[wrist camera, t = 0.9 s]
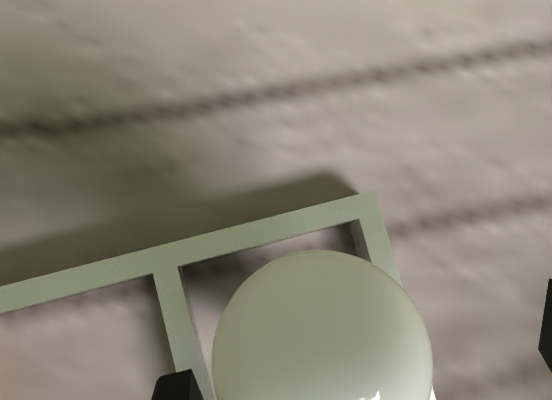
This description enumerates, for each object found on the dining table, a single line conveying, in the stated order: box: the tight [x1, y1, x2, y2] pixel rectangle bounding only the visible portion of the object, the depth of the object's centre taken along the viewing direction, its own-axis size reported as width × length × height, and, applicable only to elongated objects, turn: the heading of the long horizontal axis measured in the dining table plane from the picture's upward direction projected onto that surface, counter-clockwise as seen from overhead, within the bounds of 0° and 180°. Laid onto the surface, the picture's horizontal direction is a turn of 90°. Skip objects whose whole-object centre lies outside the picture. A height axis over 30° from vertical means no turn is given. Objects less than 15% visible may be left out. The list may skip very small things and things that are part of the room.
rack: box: [0, 190, 436, 400], centre depth 21 cm, size 10×27×2 cm, turn 105°
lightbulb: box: [211, 250, 433, 400], centre depth 17 cm, size 6×6×11 cm
